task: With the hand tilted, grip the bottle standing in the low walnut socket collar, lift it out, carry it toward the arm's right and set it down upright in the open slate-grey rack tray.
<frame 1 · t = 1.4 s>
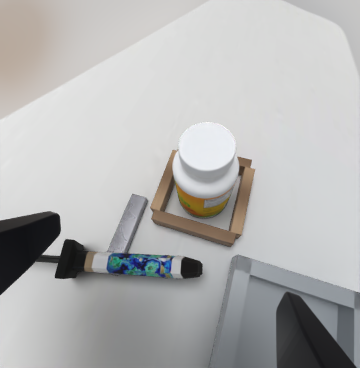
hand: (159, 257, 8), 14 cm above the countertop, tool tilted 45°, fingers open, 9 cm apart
knife: (49, 257, 22), on the countertop
rack tray: (279, 337, 18), on the countertop
supplement bottle: (203, 195, 23), resting in socket collar
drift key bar: (126, 233, 22), on the countertop
socket collar: (203, 195, 23), on the countertop
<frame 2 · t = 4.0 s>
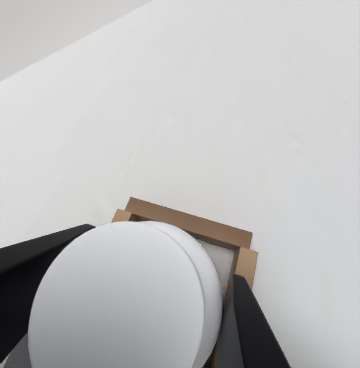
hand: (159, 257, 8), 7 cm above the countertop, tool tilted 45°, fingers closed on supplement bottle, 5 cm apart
supplement bottle: (169, 287, 14), resting in socket collar, touching gripper
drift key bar: (29, 363, 12), on the countertop
socket collar: (168, 288, 13), on the countertop
when the fingers open (9 cm above the countertop, at t = 8.6 s): supplement bottle stays where it is, resting on rack tray.
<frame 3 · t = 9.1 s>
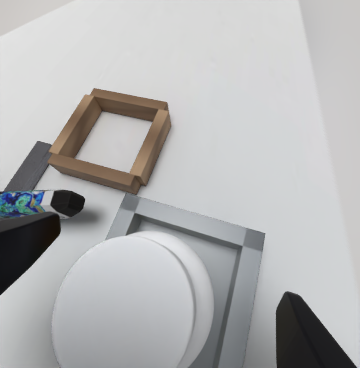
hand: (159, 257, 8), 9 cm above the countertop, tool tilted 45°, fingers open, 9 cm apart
rack tray: (172, 286, 16), on the countertop
supplement bottle: (169, 288, 15), point 1 cm above the countertop, touching rack tray
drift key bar: (28, 182, 20), on the countertop
socket collar: (117, 143, 21), on the countertop
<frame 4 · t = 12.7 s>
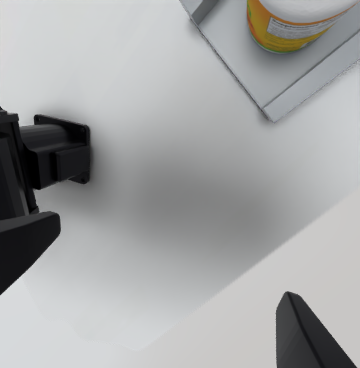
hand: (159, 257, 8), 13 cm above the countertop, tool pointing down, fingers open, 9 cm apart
rack tray: (290, 12, 14), on the countertop
supplement bottle: (289, 8, 14), point 1 cm above the countertop, touching rack tray
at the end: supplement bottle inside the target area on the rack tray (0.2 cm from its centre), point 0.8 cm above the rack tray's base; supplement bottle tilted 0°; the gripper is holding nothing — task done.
